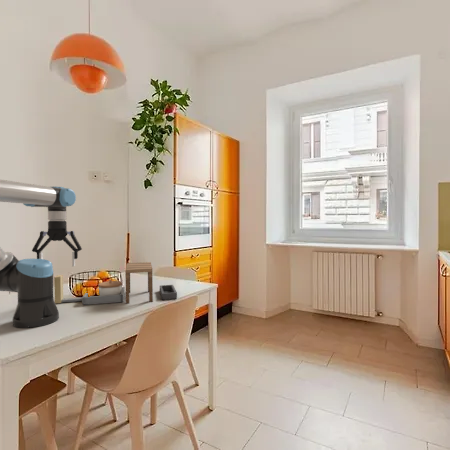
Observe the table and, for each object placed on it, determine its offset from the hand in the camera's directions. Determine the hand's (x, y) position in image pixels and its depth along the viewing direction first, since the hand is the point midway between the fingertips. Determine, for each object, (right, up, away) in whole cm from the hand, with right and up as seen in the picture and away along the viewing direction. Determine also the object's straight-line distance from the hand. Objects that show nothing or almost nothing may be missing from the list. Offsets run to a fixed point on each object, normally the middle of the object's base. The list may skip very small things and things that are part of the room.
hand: (57, 266), depth 144 cm
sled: (+13, -16, +5) cm, 22 cm away
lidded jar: (+22, -17, +6) cm, 28 cm away
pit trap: (+48, -16, +14) cm, 53 cm away
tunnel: (+35, -16, +10) cm, 40 cm away
